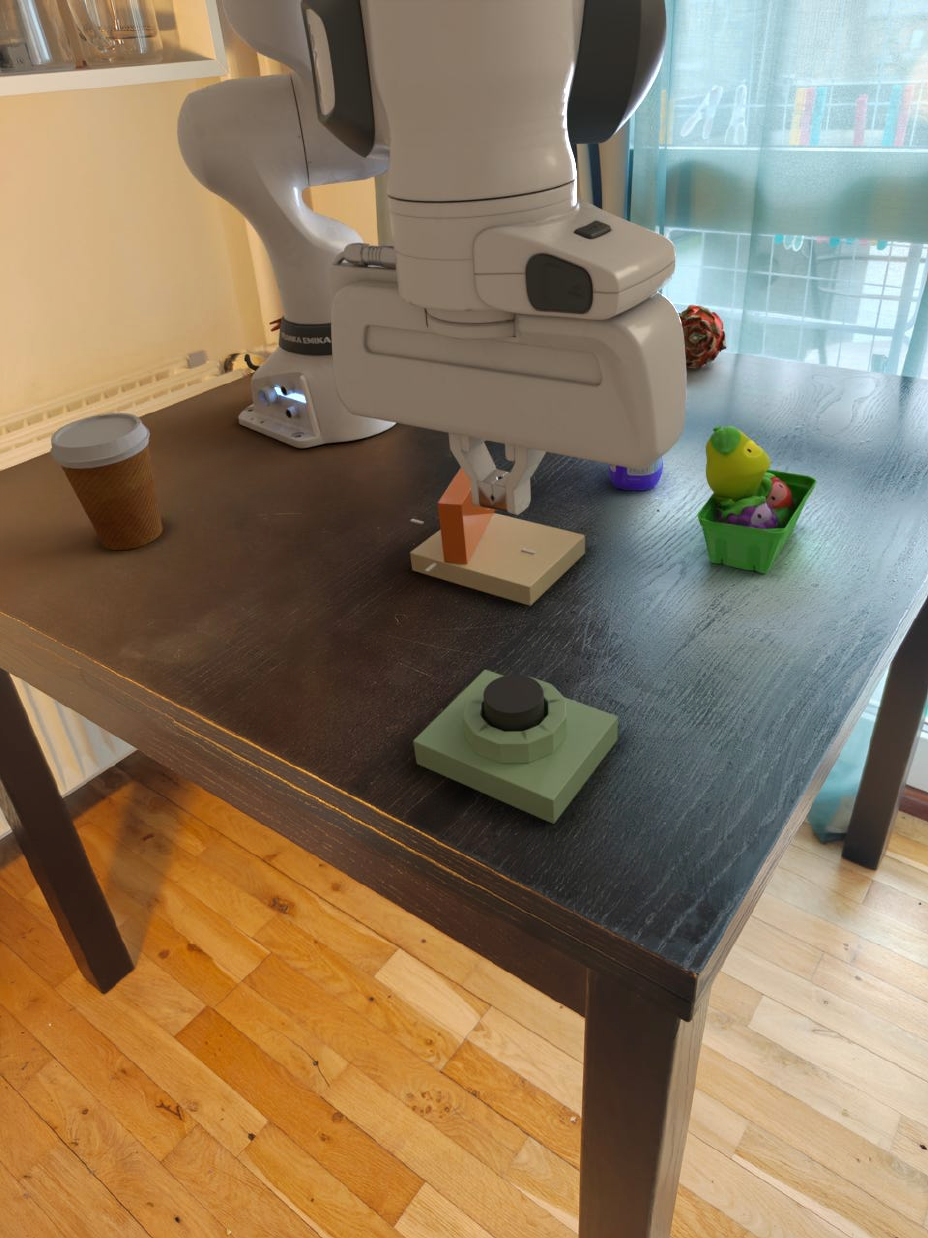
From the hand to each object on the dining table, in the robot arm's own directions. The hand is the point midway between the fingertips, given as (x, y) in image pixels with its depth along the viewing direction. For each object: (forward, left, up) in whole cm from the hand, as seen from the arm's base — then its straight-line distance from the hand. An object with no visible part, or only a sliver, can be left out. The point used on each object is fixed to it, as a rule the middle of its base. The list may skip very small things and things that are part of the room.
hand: (501, 506), depth 50 cm
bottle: (-11, +42, -19) cm, 48 cm away
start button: (0, 0, -16) cm, 16 cm away
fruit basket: (+4, +34, -19) cm, 39 cm away
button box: (0, 0, -19) cm, 19 cm away
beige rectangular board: (-17, +21, -19) cm, 33 cm away
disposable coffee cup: (-53, +8, -19) cm, 57 cm away
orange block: (-18, +21, -17) cm, 33 cm away
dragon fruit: (-20, +78, -19) cm, 83 cm away
